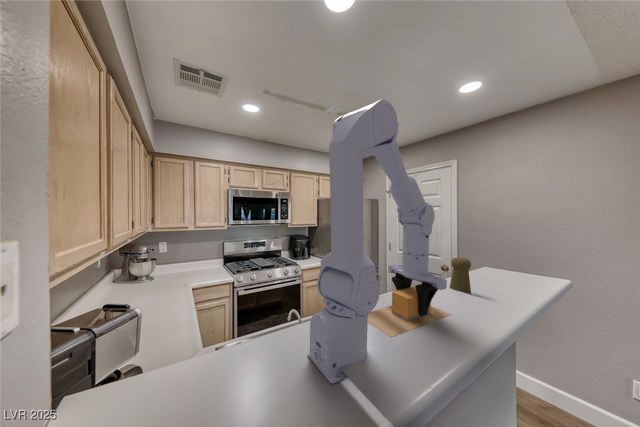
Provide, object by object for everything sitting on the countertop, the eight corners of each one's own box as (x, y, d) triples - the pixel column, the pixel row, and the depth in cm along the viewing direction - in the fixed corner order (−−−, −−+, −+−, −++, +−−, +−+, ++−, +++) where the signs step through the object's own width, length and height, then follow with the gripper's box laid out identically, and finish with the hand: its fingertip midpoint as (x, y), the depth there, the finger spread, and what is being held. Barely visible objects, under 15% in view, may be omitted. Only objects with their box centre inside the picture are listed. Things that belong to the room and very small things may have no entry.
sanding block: (407, 321, 50) (408, 298, 50) (391, 312, 54) (392, 291, 54) (430, 313, 54) (430, 292, 54) (414, 305, 58) (414, 286, 58)
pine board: (390, 345, 44) (391, 337, 44) (357, 321, 53) (357, 315, 53) (451, 320, 54) (451, 314, 54) (414, 304, 63) (415, 299, 63)
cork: (475, 297, 68) (476, 261, 68) (452, 296, 70) (454, 259, 69) (466, 290, 74) (467, 256, 74) (446, 289, 76) (447, 255, 75)
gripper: (455, 257, 50) (453, 319, 51) (401, 247, 63) (400, 296, 63) (436, 260, 47) (433, 327, 47) (383, 249, 59) (381, 301, 60)
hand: (413, 310), depth 55 cm, fingers closed on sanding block, 4 cm apart
